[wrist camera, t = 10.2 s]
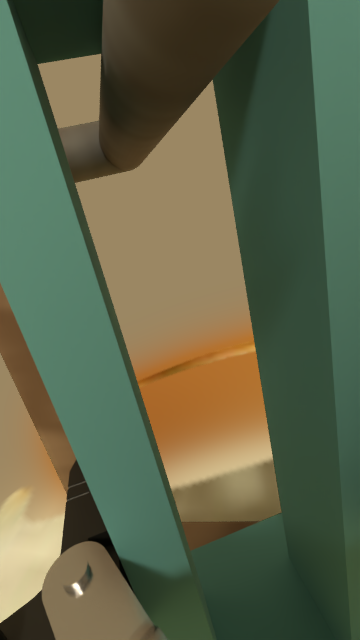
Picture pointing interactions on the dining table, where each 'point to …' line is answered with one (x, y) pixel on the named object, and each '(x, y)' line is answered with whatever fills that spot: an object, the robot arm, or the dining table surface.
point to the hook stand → (136, 149)
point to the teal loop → (265, 310)
